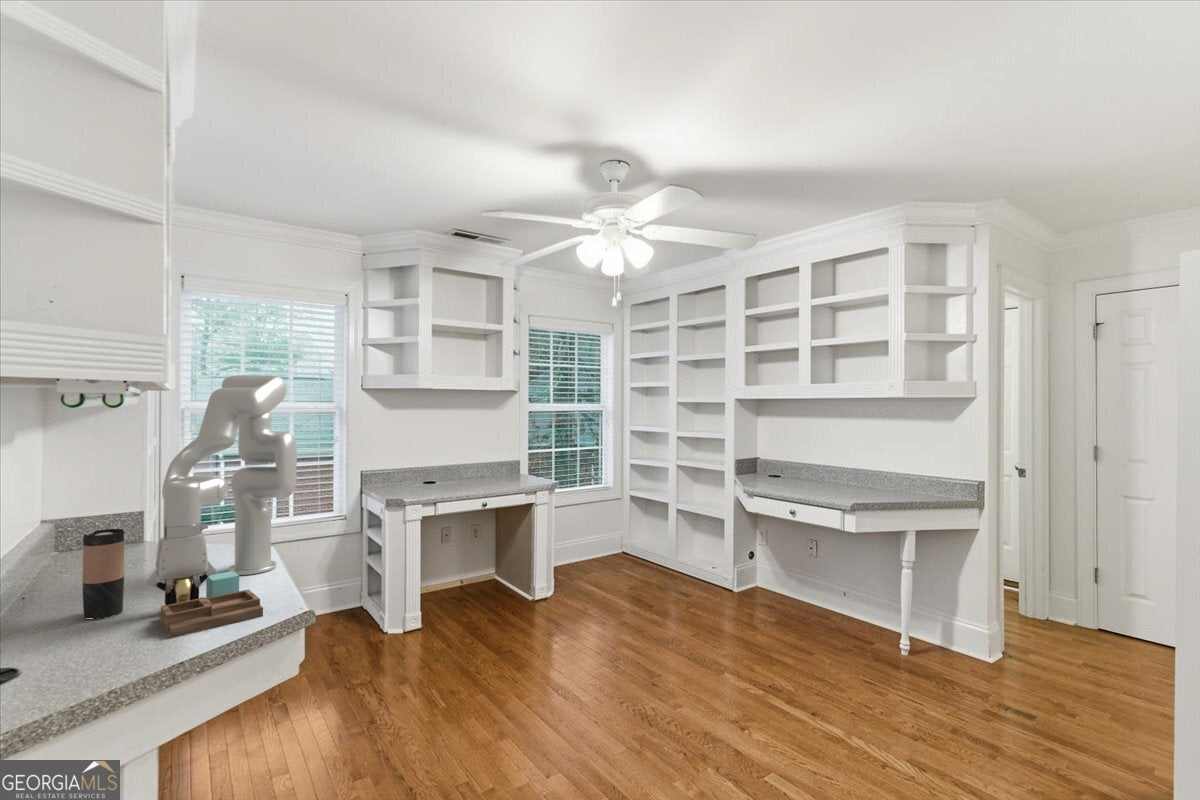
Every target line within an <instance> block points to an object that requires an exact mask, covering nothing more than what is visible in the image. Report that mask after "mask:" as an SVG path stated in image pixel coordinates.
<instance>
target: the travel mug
mask: <svg viewBox="0 0 1200 800" xmlns="http://www.w3.org/2000/svg"><path fill="white" fill-rule="evenodd" d="M82 538H83V539H82V541H83V542H82V543H83V544H82V546H83V547H82V603H83V604H82V605H83V606H82V608H83V618H84V617H85V618H93V619H96V620H98V619H97V618H103V619H106V618H105V617H108V618H111V616H112V617H114V616H113V615H115V616H117V615H119V613H120V614H121V613H122V612H123V610H124V609H123V608H124V590H125V530H124V529H122V528H108V529H107V528H106V529H98V530H95V531H93V532H92V533H90V534H86V533H84V534H83V537H82Z"/></svg>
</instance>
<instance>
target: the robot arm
mask: <svg viewBox="0 0 1200 800" xmlns="http://www.w3.org/2000/svg"><path fill="white" fill-rule="evenodd" d="M286 394H287V384H286V382H285V380H284V379H283V378H282V377H280V376H278V375H271V374H270V375H267V374H266V375H258V374H257V375H256V374H241V375H240V374H238V375H231V376H227V377H225V378H224V379H223V380H222V382H221V388H218V389H216V390H214V391H213V392H212V393H211V394H210V396H209V399H208V402H207V405H206V408H205V412H204V415H203V419H202V422H201V425H200V427H199V432H198V435H197V436H196V438H195V439H194V440H193V441H191V442H190V443H188V444H187V445H186V446H185V447H183V448H182V449H181V450H180V451H179V452H178V454H176V456H175V457H174V458H173V459H172V461H171V462H170V464H169V466H168V467H167V468H168V469H167V471H166V473H165V477H164V480H163V483H162V484H163V485H162V491H161V493H162V498H163V499H162V500H163V537H160V538H159V539H158V540H159V541H158V543H157V550H156V558H155V569H154V570H153V571H152V573H151V574H150V576H149V577H148V578H147V580H146V583H147V584H148V585H151V586H153V587H155V588H158V589H159V590H161V591H163V592H164V604H165V605H169V604H174V592H173V591H172V584H173V580H174V579H179V578H184V577H190V576H192V600H194V599H199V598H200V587H201V585H202V584H203V583H204V582H206V579H207V577H209V576H210V575H213V574H215V573H216V571H217V570H216V568H215V567H214V566H213V565H212V564H211V563H210V561H208V550H207V542H206V538H205V534H204V533H203V532H202V531H204V530H207V529H208V528H209V524H208V523H203V522H202V507H207V506H216V505H218V504H220V503H222V502H223V501H225V500H226V498H227V497H228V494H229V492H230V487H229V484H228V482H227V480H225V479H224V478H222V477H218V476H198V475H197V476H192V475H191V476H189V474H190V472H191V471H192V469H193V468H194V467H195V466H196V465H197V464H198V463H199V462H200V461H202V460H205V459H206V458H209V457H210V456H212V455H215V454H218V453H219V452H222V451H224V450H227V449H229V448H231V447H232V446H234V443H235V440H236V436H237V435H238V441H237V442H238V446H237V448H238V449H237V450H238V457H239V459H241V461H242V462H243V461H244V462H247V463H275V466H246V467H242V468H239V469H238V470H236V471H235V472H234V473H233V475H232V477H231V480H230V484H231V485H230V486H231V491H232V496H233V500H234V501H233V502H234V565H231V566H229V568H228V572H229V571H234V572H235V573H236V574H238V575H239V576H249V575H256V574H261V573H262V574H263V573H266V572H269V571H272V570H274V569H275V568H276V567H277V561H275V560H272V550H271V549H272V509H271V507H270V506H269V504H268V502H267V501H266V499H270V498H271V499H272V498H276V499H277V498H279V499H280V498H288V497H291V495H292V494H294V492H295V490H296V486H297V464H298V463H297V462H298V444H297V441H296V438H295V437H294V435H293V434H291V433H290V432H287V431H272V426H271V425H272V423H271V419H272V418H271V413H270V412H271V411H272V410H273V409H275V408H276V407H277V406H278V405H279V404H281V403H282V402H283V400H284V399H285V398H286ZM237 433H238V434H237ZM163 581H164V582H163ZM165 605H164V606H165Z"/></svg>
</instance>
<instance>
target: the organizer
mask: <svg viewBox="0 0 1200 800" xmlns="http://www.w3.org/2000/svg"><path fill="white" fill-rule="evenodd" d="M158 616H159V618H158V619H159V622H160V623H161V625H162V626H163V627H164V630H165V632H166V633H167V632H168V633H167V634H168V636H169V635H170V636H169V638H171V637H173V638H176V637H175V636H177V637H180V636H179V635H181V636H185V635H188V634H187V633H189V634H193V633H192V632H194V633H196V632H197V631H198V632H201V631H206V630H210V629H214V628H218V627H222V626H226V625H230V624H235V623H234V622H236V623H239V621H240V622H244V621H248V620H251V618H252V619H256V617H257V618H261V617H264V607H263V606H262V605H261V598H259V596H257V594H255V593H254V592H253V591H251V590H250V589H245V590H239V591H238V592H234V593H229V594H224V595H219V596H214V597H209V598H206V597H199V599H194V600H189V601H184V602H179V603H174V604H169V605H161V606H160V610H159V613H158ZM260 616H261V617H260ZM247 619H248V620H247ZM243 620H244V621H243ZM184 634H185V635H184Z"/></svg>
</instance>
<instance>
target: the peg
mask: <svg viewBox="0 0 1200 800" xmlns="http://www.w3.org/2000/svg"><path fill="white" fill-rule="evenodd" d="M192 583H193V581H192V576H190V577H184V578H179V579H174V580H173V584H172V591H173V592H174V603H179V602H184V601H189V600H192Z"/></svg>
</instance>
